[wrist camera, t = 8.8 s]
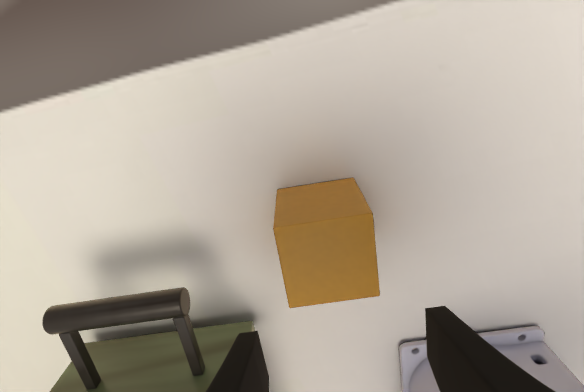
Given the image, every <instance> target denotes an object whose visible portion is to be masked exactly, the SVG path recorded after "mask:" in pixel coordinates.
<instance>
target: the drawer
mask: <svg viewBox="0 0 584 392" xmlns="http://www.w3.org/2000/svg"><path fill="white" fill-rule="evenodd" d="M189 310H190V296H189V292H188V290H187V289H186V288H184V287H182V288H175V289H168V290H161V291H154V292H147V293H140V294H133V295H126V296H119V297H112V298H104V299H97V300H90V301H83V302H76V303H69V304H62V305H55V306H51V307H50V308H48V309H47V310H46V312H45V314H44V316H43V328H44V330H45V331H46V332H47V333H49V334H59V336H60V338H61V340H62V342H63V344H64V346H65V348H66V350H67V352H68V354H69V356H70V358H71V360H72V362H71V363H70V364H69V366H68V367H67V369H66V370H65V371H64V373H63V374H62V375H61V377H60V378H59V380H58V381H57V382H56V384H55V385H54V386H53V388H52V389H51V391H50V392H206V390H207V389H208V387H209V385H210V384H211V382H212V380H213V379H214V377H215V375H216V374H217V372H218V370H219V368H220V367H221V365H222V363H223V361H224V360H225V358H226V356H227V354H228V352H229V350H230V349H231V347H232V345H233V343H234V341H235V339H236V337H237V336H238V334H239V333H244V332H252V331H255V328H254V324H253V321H246V322H239V323H231V324H224V325H216V326H209V327H201V328H194V329H193V327H192V324H191V321H190V318H189V315H188V313H189ZM170 318H173V321H174V323H175V326H176V329H177V331H172V332H164V333H157V334H149V335H142V336H134V337H127V338H120V339H112V340H105V341H97V342H90V343H85V344H84V342H83V340H82V338H81V336H80V334H79V332H78V331H82V330H89V329H96V328H104V327H111V326H118V325H126V324H133V323H140V322H148V321H155V320H162V319H170Z"/></svg>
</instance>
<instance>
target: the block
mask: <svg viewBox="0 0 584 392" xmlns="http://www.w3.org/2000/svg"><path fill="white" fill-rule="evenodd" d="M273 230H274V235H275V240H276V245H277V250H278V254H279V259H280V264H281V269H282V274H283V279H284V284H285V289H286V294H287V299H288V304H289V307H290V308H294V307H301V306H308V305H316V304H323V303H331V302H338V301H345V300H353V299H360V298H367V297H375V296H380V290H379V279H378V268H377V256H376V245H375V234H374V223H373V213H372V211H371V209H370V208H369V206H368V204H367V202H366V200H365V198H364V196H363V194H362V193H361V191H360V189H359V187H358V185H357V183H356V181H355V179H354V178H348V179H341V180H335V181H328V182H322V183H315V184H309V185H302V186H296V187H289V188H283V189H278V190H277V197H276V207H275V216H274V226H273Z"/></svg>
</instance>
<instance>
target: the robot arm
mask: <svg viewBox="0 0 584 392" xmlns="http://www.w3.org/2000/svg"><path fill="white" fill-rule="evenodd" d="M425 311H426V340H421V341H413V342H405V343H403V344H401V345H400V347H399V356H400V370H401V385H402V392H584V386H583V384H582V383H581V382H580V381H579V380H578V379H577V378H576V377H575V376H574V374H573V373H572V372H571V371H570V370H569V369H568V368H567V367H566V366H565V364H564V363H563V362H562V361H561V360H560V359H559V358H558V357H557V356H556V354H555V353H554V352H553V351H552V350H551V349H550V348H549V347H548V345H547V344H546V343H545V342H544V336H545V333H544V331H543V330H542V329H541V328H540V327H539V326H530V327H522V328H515V329H507V330H499V331H491V332H483V333H476V332H475V331H473V330H472V329H471V328H470V327H469V326H468V325H466V324H465V323H464V322H463V321H462V320H461V319H459V318H458V317H457V316H456V315H455V314H454V313H453V312H451V311H450V310H449V309H448V308H447V307H445V306H440V307H433V308H425ZM414 348H416V349H414ZM413 349H414V350H413ZM206 392H269V375H268V371H267V367H266V363H265V359H264V355H263V351H262V347H261V343H260V339H259V335H258V331H252V332H244V333H239V334H238V336H237V337H236V339H235V341H234V343H233V345H232V347H231V349H230V350H229V352H228V354H227V356H226V358H225V360H224V361H223V363H222V365H221V367H220V368H219V370H218V372H217V374H216V375H215V377H214V379H213V380H212V382H211V384H210V385H209V387H208V389H207V390H206Z"/></svg>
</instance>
